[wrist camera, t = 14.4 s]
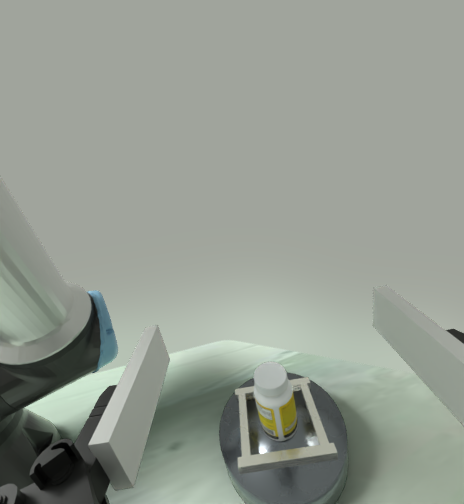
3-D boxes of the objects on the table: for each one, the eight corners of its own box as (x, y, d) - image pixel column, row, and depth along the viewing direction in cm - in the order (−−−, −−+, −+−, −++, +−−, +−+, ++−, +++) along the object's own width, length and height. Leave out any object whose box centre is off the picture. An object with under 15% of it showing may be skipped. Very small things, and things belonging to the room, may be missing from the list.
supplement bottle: (294, 404, 33) (287, 357, 31) (301, 441, 29) (294, 389, 26) (260, 407, 34) (250, 360, 31) (261, 443, 30) (250, 393, 27)
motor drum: (225, 534, 26) (214, 506, 24) (225, 398, 41) (219, 375, 39) (376, 513, 25) (376, 483, 23) (320, 383, 40) (317, 358, 38)
